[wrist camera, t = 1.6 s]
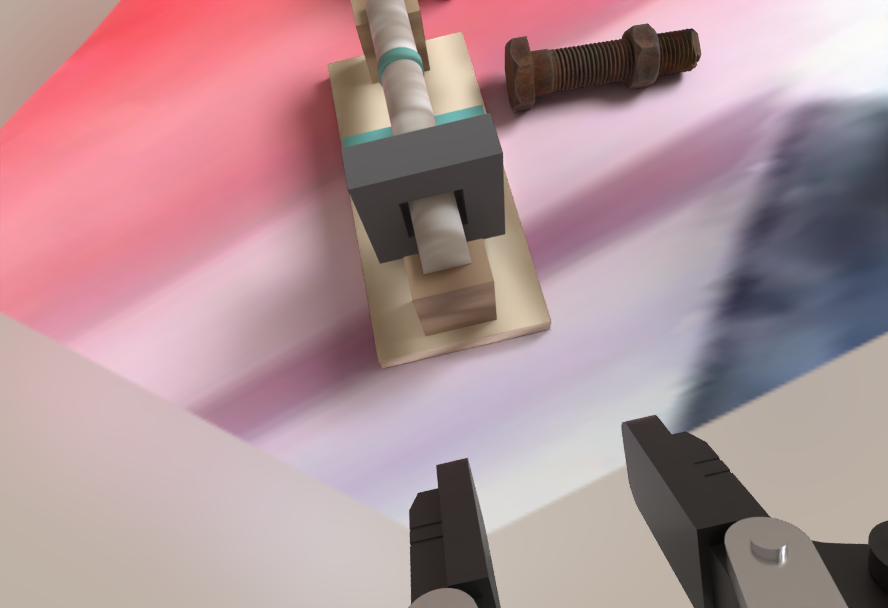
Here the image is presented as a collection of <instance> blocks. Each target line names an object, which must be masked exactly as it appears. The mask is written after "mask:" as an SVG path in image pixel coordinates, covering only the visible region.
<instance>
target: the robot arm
mask: <svg viewBox="0 0 888 608" xmlns="http://www.w3.org/2000/svg"><path fill="white" fill-rule="evenodd" d="M622 436H623V443H624V450H625V457H626V464H627V471H628V478H629V484H630V487H631V490H632V494H633V497H634V500H635V502H636V504H637V507H638V509H639V510H640V512H641V514H642V515H643V517H644V519H645V521H646V523H647V525H648V526H649V528H650V530H651V532H652V533H653V535H654V537H655V539H656V541H657V542H658V544H659V546H660V548H661V550H662V551H663V553H664V555H665V557H666V559H667V560H668V562H669V564H670V566H671V567H672V569H673V571H674V573H675V575H676V576H677V578H678V580H679V582H680V583H681V585H682V587H683V589H684V591H685V592H686V594H687V596H688V598H689V599H690V601H691V603H692V605H693V607H694V608H888V521H885V522H882V523H880V524H878V525H876V526H875V527H874V528H873V529H872V530H871V532H870V535H869V542H868V544H840V543H838V544H837V543H822V542H817V541H812V540H810V538H809V537H808V536H807V535H806V534H805V533H804V532H803V531H802V530H800V529H799V528H798V527H796V526H794V525H792V524H790V523H788V522H785V521H783V520H779V519H775V518H771V517H770V516H769V515H768V514H767V513H766V512H765V510H764V509H763V508H762V507H761V506H760V504H759V503H758V502H757V501H756V500H755V499H754V497H753V496H752V495H751V494H750V493H749V492H748V490H747V489H746V488H745V487H744V486H743V485H742V483H741V482H740V481H739V480H738V479H737V478H736V476H735V475H734V474H733V473H731V472H730V469H729V468H728V467H727V466H726V465H725V464H724V463H723V461H720V459H719V457H718V455H717V454H716V453H715V452H714V451H713V450H712V448H711V447H710V446H709V445H708V444H707V443H706V442H705V441H703V440H701V439H699V438H697V437H695V436H694V435H692V434H690V433H688V432H681V433H677V434H673V435H672V434H671V433H670V432H669V431H668V429H667V428H666V427H665V425H664V424H663V423H662V422H661V420H660V419H659V418H658V417H657V416H656V415H652V416H648V417H644V418H639V419H635V420H631V421H626V422H623V423H622ZM436 468H437V479H438V489H433V490H429V491H425V492H420V493H418V494H417V496H416V498H415V500H414V502H413V504H412V506H411V508H410V510H409V520H410V545H411V547H410V565H411V605H410V606H409V608H501V607H500V603H499V597H498V592H497V587H496V581H495V576H494V571H493V566H492V560H491V556H490V550H489V545H488V540H487V535H486V530H485V526H484V521H483V517H482V513H481V509H480V505H479V501H478V497H477V493H476V489H475V485H474V481H473V477H472V473H471V469H470V465H469V461H468V458H465V459H461V460H456V461H452V462H448V463H443V464H439V465H437V466H436Z"/></svg>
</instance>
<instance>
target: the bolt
mask: <svg viewBox="0 0 888 608" xmlns="http://www.w3.org/2000/svg"><path fill="white" fill-rule="evenodd" d="M700 57H701V50H700V43H699V38H698V33H697V32H696V31H695V30H694V29H686V30H679V31H673V32H671V31H670V32H669V33H668V32H666V33H661V34H659V33H658V34H657V33H656V31H655V30H654V29H653V28H652V27H651V26H650V25H649V24H642V25H635V26H633V27H631V28H629V29H628V30H627V31H625V32H624V34H623V36H622V39H619V40H614V41H613V40H611V41H610V42H609V41H606V42H602V43H600V42H598V43H594V44H589V45H588V44H586V45H585V46H584V45H581V46H579V45H578V46H577V47H575V46H573V47H568V48H567V47H566V48H564V49H563V48H560V49H555V50H554V49H552V50H548V49H544V50H537V51H530V47H529V44H528V40H527V37H526V36H525V37H519V38H513V39H511V40H510V41H509V42H508V43H507V44H506V46H505V74H506V83H507V90H508V95H509V100H510V104H511V107H512V108H513V110H514V111H515V112H519V111H525V110H530V109H531V108H532V106H533V104H534V103H535V96H537V95H543V94H550V93H552V92H555V91H559V90H561V91H563V90H564V89H565V90H567V89H568V88H569V89H572V88H574V89H575V88H576V87H577V88H579V87H580V86H581V87H584V86H585V87H587V86H592V85H596V84H598V85H600V84H605V83H609V82H610V83H613V81H614V82H617V81H619V82H620V81H621V80H622V81H624V83H625V85H626V86H627V87H628V88H629V89H631V90H632V89H638V88H644V87H648V86H650V85H651V84H653V83H654V82H655V81H656V79H657V76H658V75H663V74H664V75H666V74H670V73H672V74H674V73H679V72H686V71H691V70H692V69H693V68H695V67H696V66H697V62H698V61H699V59H700Z"/></svg>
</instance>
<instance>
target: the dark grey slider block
mask: <svg viewBox="0 0 888 608" xmlns="http://www.w3.org/2000/svg"><path fill="white" fill-rule="evenodd" d="M341 152H342V158H343V164H344V170H345V176H346V182H347V188H348V191H349V194H350V196H351V198H352V200H353V203H354V205H355V207H356V210H357V212H358V214H359V217H360V219H361V221H362V224H363V226H364V228H365V230H366V233H367V235H368V237H369V240H370V242H371V244H372V247H373V249H374V251H375V254H376V256H377V258H378V260H379V263H380V264H382V263H386V262H390V261H394V260H399V259H403V257H406V256H410V255H414V254H419V251H418V246H417V241H416V237H415V232H414V228H413V223H412V219H411V214H410V209H409V205H408V202H409V201H413V200H418V199H422V198H426V197H430V196H435V195H439V194H443V193H447V192H451V191H453V192H454V195H455V199H456V203H457V207H458V211H459V215H460V218H461V222H462V226H463V230H464V234H465V238H466V242H469V241H474V240H478V239H482V238H483V239H487V238H492V237H496V236H500V235H504V234H505V204H504V172H503V152H502V148H501V145H500V142H499V139H498V136H497V132H496V129H495V126H494V123H493V119H492V116H491V113H487V114H483V115H479V116H475V117H471V118H466V119H462V120H458V121H454V122H450V123H445V124H441V125H437V126H433V127H429V128H425V129H420V130H416V131H412V132H408V133H404V134H399V135H395V136H391V137H387V138H383V139H379V140H374V141H370V142H366V143H362V144H358V145H353V146H349V147H345V148H341Z"/></svg>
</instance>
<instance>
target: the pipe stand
mask: <svg viewBox="0 0 888 608" xmlns="http://www.w3.org/2000/svg"><path fill="white" fill-rule="evenodd" d="M351 5H352V10H353V15H354V19H355V24H356V28H357V32H358V35H359V39H360V42H361V45H362V49H363V52H364V55H363V56H359V57H354V58H350V59H346V60H342V61H338V62H334V63H329V64H327V65H328V70H329V76H330V82H331V88H332V94H333V100H334V106H335V111H336V117H337V123H338V129H339V135H340V141H341V147H342V148H345V147H349V146H353V145H358V144H362V143H366V142H370V141H374V140H379V139H383V138H387V137H391V136H395V135H399V134H404V133H408V132H412V131H416V130H420V129H425V128H429V127H433V126H437V125H441V124H445V123H450V122H454V121H458V120H462V119H466V118H471V117H475V116H479V115H483V114H487V112H486V108H485V105H484V102H483V99H482V95H481V92H480V89H479V86H478V83H477V79H476V76H475V73H474V70H473V66H472V63H471V60H470V57H469V53H468V50H467V47H466V44H465V40H464V37H463V34H462V32H458V33H454V34H450V35H446V36H442V37H437V38H433V39H429V40H425V36H424V30H423V24H422V18H421V12H420V8H419V4H418V0H351ZM503 172H504V204H505V234H504V235H500V236H496V237H492V238H487V239H483V238H482V239H478V240H474V241H469V242H466V238H465V234H464V230H463V226H462V222H461V218H460V215H459V211H458V207H457V203H456V199H455V195H454V192H453V191H451V192H447V193H443V194H439V195H435V196H430V197H426V198H422V199H418V200H413V201H409V202H408V205H409V209H410V214H411V219H412V223H413V228H414V232H415V237H416V241H417V246H418V251H419V254H414V255H410V256H406V257H403V259H399V260H394V261H390V262H386V263H382V264H380V263H379V260H378V258H377V256H376V254H375V251H374V249H373V247H372V244H371V242H370V240H369V237H368V235H367V233H366V230H365V228H364V226H363V224H362V221H361V219H360V217H359V214H358V212H357V210H356V207H355V205H354V203H353V200H352V198H351V196H350V199H351V205H352V211H353V217H354V223H355V229H356V234H357V240H358V246H359V252H360V258H361V264H362V270H363V275H364V281H365V287H366V293H367V299H368V305H369V311H370V317H371V322H372V328H373V334H374V340H375V346H376V352H377V358H378V362H379V364H380V365H381V367H382V368H387V367H391V366H395V365H399V364H404V363H408V362H412V361H417V360H421V359H425V358H429V357H434V356H438V355H442V354H446V353H451V352H455V351H459V350H464V349H468V348H472V347H476V346H481V345H485V344H489V343H493V342H498V341H502V340H506V339H510V338H515V337H519V336H523V335H528V334H532V333H536V332H540V331H545V330H549V329H550V325H551V319H550V316H549V313H548V309H547V306H546V303H545V300H544V296H543V293H542V290H541V287H540V284H539V280H538V277H537V274H536V271H535V267H534V264H533V261H532V258H531V254H530V251H529V248H528V245H527V241H526V238H525V235H524V232H523V228H522V225H521V222H520V219H519V215H518V212H517V209H516V206H515V202H514V199H513V196H512V193H511V189H510V186H509V183H508V180H507V177H506V173H505V170H504V167H503Z"/></svg>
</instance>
